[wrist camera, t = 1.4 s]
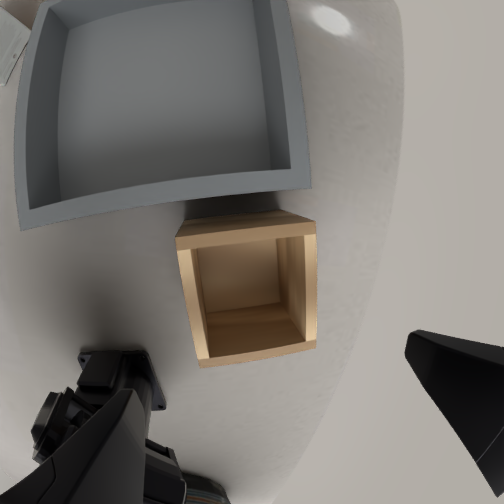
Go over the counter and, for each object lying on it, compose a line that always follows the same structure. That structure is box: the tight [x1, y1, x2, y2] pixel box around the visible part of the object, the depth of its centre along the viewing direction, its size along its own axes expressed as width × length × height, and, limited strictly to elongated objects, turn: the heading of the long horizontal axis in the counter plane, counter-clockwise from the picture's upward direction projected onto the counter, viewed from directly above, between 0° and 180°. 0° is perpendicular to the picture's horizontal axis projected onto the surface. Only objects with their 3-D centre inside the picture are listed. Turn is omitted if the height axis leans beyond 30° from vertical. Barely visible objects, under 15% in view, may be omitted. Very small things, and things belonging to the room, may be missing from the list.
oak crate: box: [175, 210, 317, 368], centre depth 16 cm, size 7×6×6 cm
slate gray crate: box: [14, 0, 312, 231], centre depth 12 cm, size 16×16×5 cm
